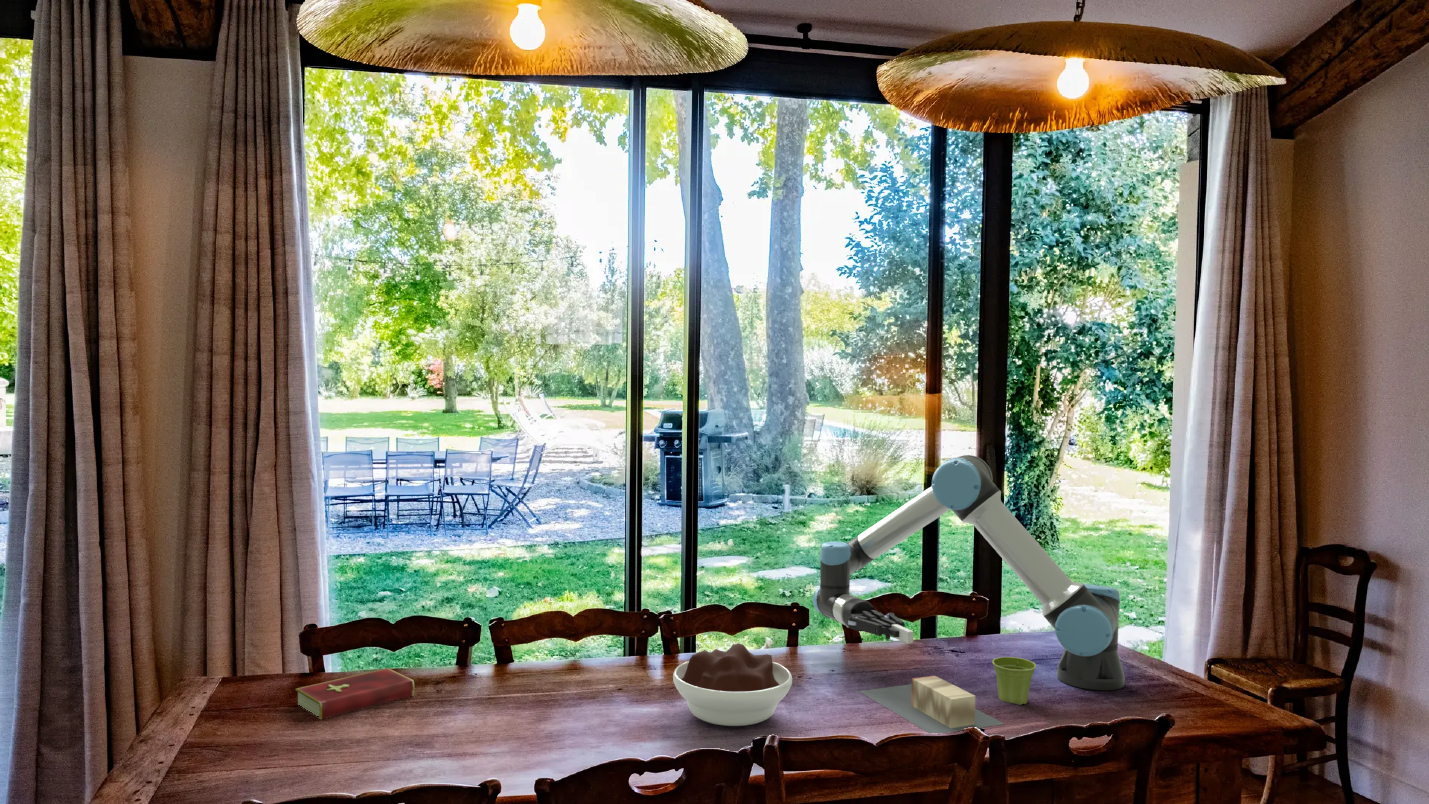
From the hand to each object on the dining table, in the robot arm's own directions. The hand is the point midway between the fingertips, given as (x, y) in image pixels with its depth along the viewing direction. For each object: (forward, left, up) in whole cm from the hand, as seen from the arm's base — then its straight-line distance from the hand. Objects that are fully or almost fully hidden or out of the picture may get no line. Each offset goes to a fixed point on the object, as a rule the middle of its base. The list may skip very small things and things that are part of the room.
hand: (910, 637), depth 219 cm
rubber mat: (-7, +4, -14) cm, 16 cm away
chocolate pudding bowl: (+21, +37, -14) cm, 45 cm away
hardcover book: (+87, +85, -14) cm, 122 cm away
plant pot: (-19, -14, -14) cm, 27 cm away
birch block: (-5, +3, -10) cm, 12 cm away
